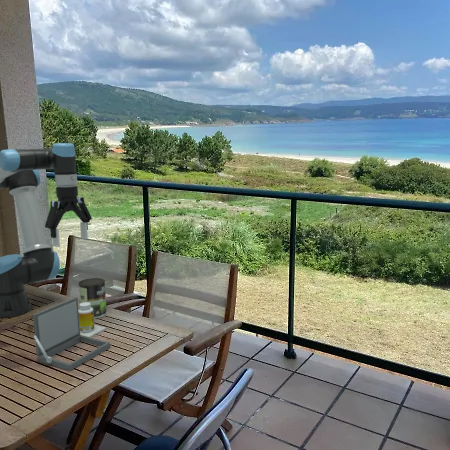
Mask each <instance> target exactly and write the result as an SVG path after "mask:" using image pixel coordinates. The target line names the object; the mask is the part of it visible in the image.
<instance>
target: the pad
mask: <svg viewBox="0 0 450 450" xmlns="http://www.w3.org/2000/svg"><path fill="white" fill-rule="evenodd" d="M106 330H107V327H106V326H100V325H97V324H94V330H92V331H90V332H80V335H83V336H87V337H91V338H93V337H94V336H96V335H98V334H100V333H102V332H104V331H106Z"/></svg>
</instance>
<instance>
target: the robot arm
mask: <svg viewBox="0 0 450 450" xmlns="http://www.w3.org/2000/svg"><path fill="white" fill-rule="evenodd" d="M75 149H76V148H75V145H74V143H72V142H70V143H69V142H65V143H64V142H62V143H59V142H58V143H53V144H52V148H30V149H29V148H27V149H26V148H24V149H23V148H22V149H19V148H17V149H16V148H15V149H14V148H10V149H9V148H8V149H2V150H1V151H0V190H3V189H7V190H8V192H9V194H10V195H11V196H12V197H14V198H13V199H14V203H15V205H16V206H15V207H16V210H17V216H18V219H19V223H20V228H21V233H22V237H23V242H24V247H25V250H24V251H23V252H22V254H23V256H22V255H21V254H18V253H16V254H15V253H13V254H7V255H4V256H0V319H2V318H3V319H4V318H6V319H7V318H13V317H19V316H21V315H24V314H27V313H29V312H30V311H31V309H32V304H31V301H30V299H29V297H28V296H27V293H26V291H25V290H26V288H25V285H28V284H33V283H37V282H42V281H48V280H50V279H54V278H56V277H57V276H58V274H59V272H60V264H61V263H60V262H61V261H60V256H59V255H58V253H57V252H56V251H54V250H52V246H53V247H57V248H59V247H61V241H60V230H59V228H58V226H59V225H60V222H61V221H62V219H63V216H64V214H66V213H67V212H74V214H75V215H76V216H77V217H78V219H79V220H80V222H79V226H80V239H81V240H89V237H88V236H89V235H88V230H89V225H88V224H89V223H90V222H91V220H92V219H93V218H92V215H91V214H90V211H89V208H88V207H87V204H86V203H85V202H86V201H85V197H84V196H83V197H82V196H79V188H78V178H77V177H78V176H77V175H78V174H77V163H76V162H77V160H76V157H77V155H76V154H77V153H76V150H75ZM39 170H54V180H55V183H54V184H55V186H56V188H55V195H56V197H57V200H50V208H49V210H48V211H49V212H48V214H47V218H46V221H45V224H44V226H43V222H42V218H41V213H40V209H39V205H38V200H37V196H36V192H37V191H38V189H39V188H38V186H40V184H41V174H40V171H39ZM43 227H45V228H47V229H49V231H50V237H51V239H52V246H50V245H48V244H47V240H46V236H45V235H46V234H45V231H44V228H43Z"/></svg>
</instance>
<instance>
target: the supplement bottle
mask: <svg viewBox="0 0 450 450" xmlns="http://www.w3.org/2000/svg"><path fill="white" fill-rule="evenodd" d="M78 311H79V324H80V332H90V331H92V330H94V325H95V319H94V314H93V308H92V307H91V304H90V303H89V302H84V303H81V304H80V303H79V304H78Z"/></svg>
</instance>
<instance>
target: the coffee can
mask: <svg viewBox="0 0 450 450" xmlns="http://www.w3.org/2000/svg"><path fill="white" fill-rule="evenodd" d="M78 289H79V302H80V303H79V305H80V304H81V303H84V302H89V303H90V304H91V307H92V308H93V314H94V320H95V319H100V318H103V317H105V316H106V315H107V314H108V312H107V302H106V301H107V298H106V295H107V294H106V280H105V279H104V278H101V277H99V278H98V277H92V278H91V277H90V278H85V279H81V280H80V281H78Z"/></svg>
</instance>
